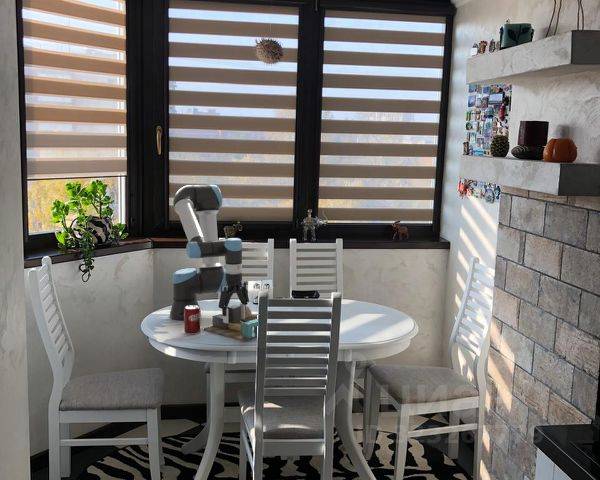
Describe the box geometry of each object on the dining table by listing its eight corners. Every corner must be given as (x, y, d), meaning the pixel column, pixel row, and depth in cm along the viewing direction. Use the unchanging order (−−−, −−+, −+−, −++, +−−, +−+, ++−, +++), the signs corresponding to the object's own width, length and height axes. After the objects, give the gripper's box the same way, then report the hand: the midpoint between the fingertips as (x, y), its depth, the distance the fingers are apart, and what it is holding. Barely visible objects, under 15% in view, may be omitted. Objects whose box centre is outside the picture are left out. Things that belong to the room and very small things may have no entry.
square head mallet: (212, 324, 348) (212, 303, 347) (220, 322, 352) (220, 301, 350) (239, 332, 336) (239, 310, 335) (247, 329, 340) (247, 307, 339)
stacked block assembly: (208, 327, 347) (208, 313, 345) (224, 323, 354) (224, 309, 353) (248, 338, 330) (247, 324, 329) (263, 333, 337) (263, 319, 336)
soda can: (181, 332, 342) (180, 307, 340) (193, 329, 347) (192, 304, 345) (191, 335, 337) (191, 309, 335) (203, 332, 342) (203, 306, 341)
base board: (203, 330, 346) (203, 328, 346) (226, 324, 356) (226, 322, 356) (244, 341, 328) (244, 339, 328) (266, 335, 339) (266, 332, 338)
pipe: (270, 314, 357) (272, 305, 366) (236, 313, 358) (238, 305, 367) (270, 326, 359) (272, 317, 368) (236, 325, 360) (239, 317, 369)
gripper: (221, 277, 327) (221, 326, 331) (257, 270, 344) (257, 317, 347) (209, 275, 332) (210, 323, 336) (245, 267, 349) (245, 314, 352)
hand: (234, 320), depth 342 cm, fingers open, 10 cm apart
